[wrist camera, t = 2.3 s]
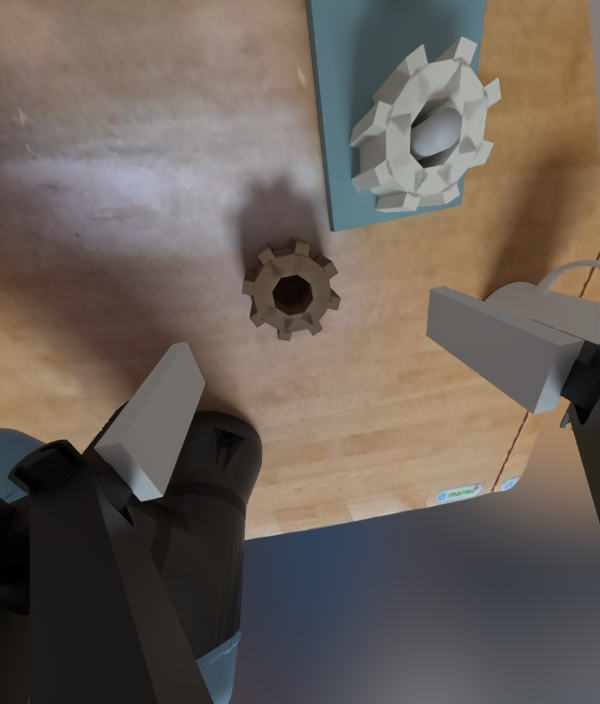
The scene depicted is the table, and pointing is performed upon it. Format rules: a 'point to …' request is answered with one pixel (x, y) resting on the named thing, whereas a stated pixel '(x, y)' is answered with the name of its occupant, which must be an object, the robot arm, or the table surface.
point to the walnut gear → (297, 310)
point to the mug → (552, 304)
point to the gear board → (379, 85)
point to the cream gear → (409, 111)
